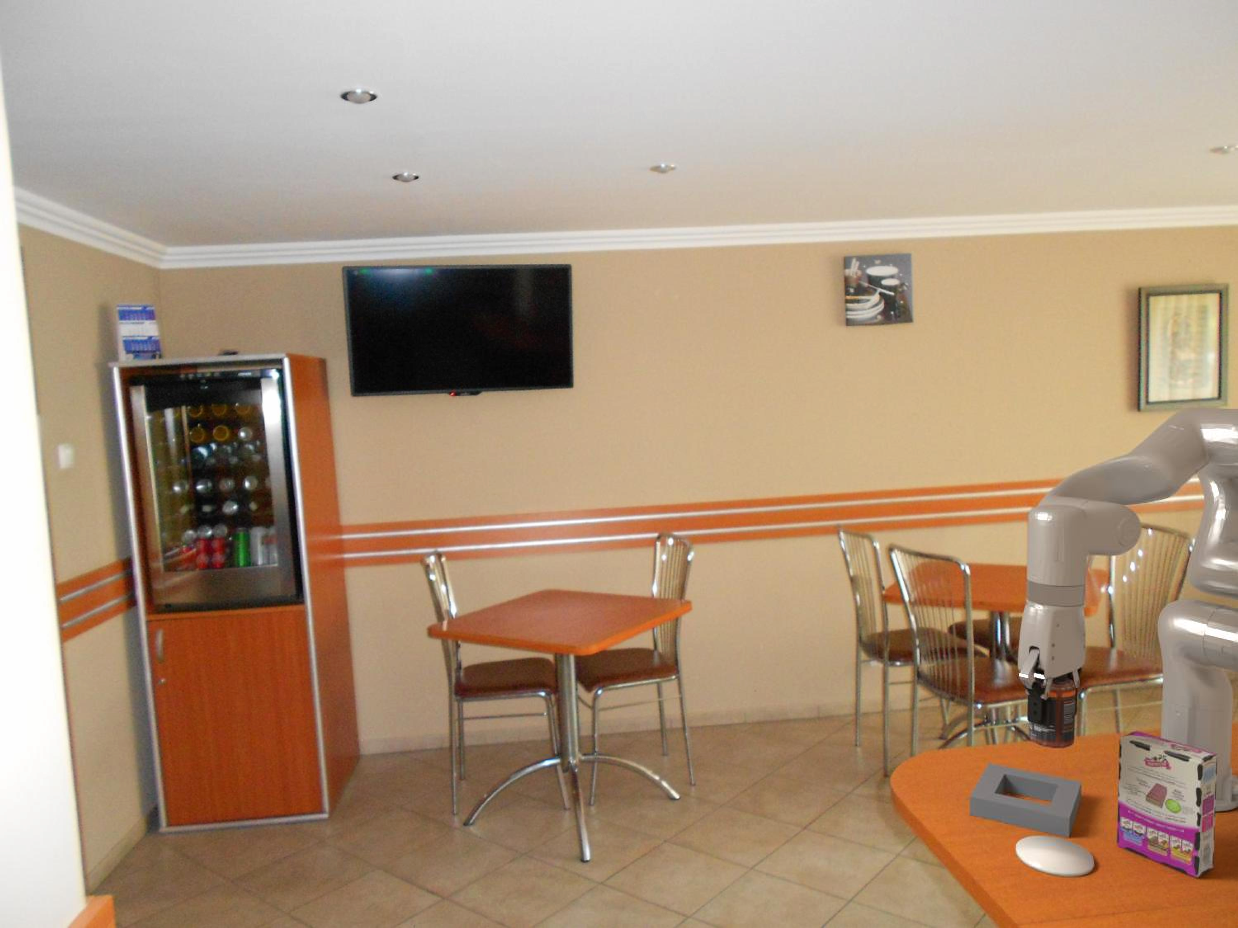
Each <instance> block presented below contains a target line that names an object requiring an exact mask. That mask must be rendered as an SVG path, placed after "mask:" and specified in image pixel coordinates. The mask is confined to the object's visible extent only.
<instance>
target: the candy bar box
mask: <svg viewBox="0 0 1238 928" xmlns="http://www.w3.org/2000/svg"><path fill="white" fill-rule="evenodd" d="M1118 744H1119V745H1118V746H1119V748H1118V749H1119V750H1118V785H1117V786H1118V787H1117V788H1118V789H1117V790H1118V791H1117V819H1116V820H1117V822H1116V825H1117V828H1116V846H1117V847H1118V848H1121V849H1123V850H1127V851H1129V852H1131V853H1134V854H1136V855H1139V856H1140V857H1144V858H1146V859H1147V860H1150V861H1153V862H1156V863H1159V864H1161V865H1164V866H1166V867H1168V868H1171V869H1174V870H1176V871H1179V872H1181V873H1184V874H1186V875H1189V876H1191V877H1194V878H1197V879H1198V878H1200V877H1201V876H1203V875H1204V874H1207V872H1209V871H1211V870H1212V869H1213V868H1214V863H1215V860H1214V859H1215V835H1216V834H1215V831H1216V829H1215V828H1216V811H1215V805H1216V778H1217V754H1215V753H1211V752H1208V751H1204V750H1201V749H1198V748H1194V747H1191V746H1188V745H1184V744H1181V743H1177V742H1174V741H1170V740H1167V739H1163V738H1161V736H1160V737H1159V736H1156V735H1153V734H1150V733H1149V734H1148V733H1145V732H1142V731H1138V730H1135V731H1132V732H1130V733H1128V734H1126V735H1123V736H1121V737H1119V743H1118Z"/></svg>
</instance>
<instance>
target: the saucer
mask: <svg viewBox="0 0 1238 928" xmlns="http://www.w3.org/2000/svg"><path fill="white" fill-rule="evenodd" d="M1015 854H1016V857H1017V858H1018V860H1020V861H1021V862H1022V863H1023V864H1025V865H1026V866H1027V867H1030V868H1031V869H1034V870H1036V871H1037V872H1041V873H1044V874H1047V875H1052V876H1056V877H1063V878H1065V877H1067V878H1068V877H1069V878H1074V877H1081V876H1085V875H1088V874H1089V873H1091V872H1092V871H1093V870H1094V867H1095V860H1094V856H1093V855H1092V853H1090V851H1088V849H1086V848H1085V847H1083V846H1081V845H1079V844H1078V843H1076V842H1073V841H1071V840H1067V839H1065V838H1061V837H1057V836H1050V835H1031V836H1030V835H1029V836H1026V837H1023V838H1021V839H1019V840H1018V841H1017V842H1016V845H1015Z"/></svg>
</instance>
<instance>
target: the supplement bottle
mask: <svg viewBox="0 0 1238 928" xmlns="http://www.w3.org/2000/svg"><path fill="white" fill-rule="evenodd" d="M1037 674H1041V675H1043V674H1044V671H1042V670H1038V671H1037ZM1068 674H1069V673H1066V674H1064V675H1061V676H1059V677H1056V678H1053V680H1052V685H1051V689H1050V693H1049V697H1048V698H1050V699H1052V708H1051V726H1049V727H1044V726H1041V725H1038V724H1035V723H1032V722H1029V721H1028V737H1029V740H1030V741H1031V742H1033V743H1034V744H1036V745H1039V746H1042V747H1044V748H1049V749H1050V748H1051V749H1066V748H1069V747H1072V746H1073V745H1074V744H1075V733H1076V730H1075V727H1076V724H1075V723H1076V715H1075V688H1076V687H1075V684H1074V682H1073V681H1072V680H1071V679H1069V678H1068ZM1036 682H1039V684H1040V685H1041V687H1043V683H1044V680H1042V679H1038V678H1037V680H1036Z"/></svg>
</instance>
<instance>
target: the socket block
mask: <svg viewBox="0 0 1238 928" xmlns="http://www.w3.org/2000/svg"><path fill="white" fill-rule="evenodd" d="M1005 792H1006V793H1011V794H1016V795H1020V796H1025V797H1028V798H1034V799H1038V800H1042V801H1046V802H1051V803H1050V804H1046V803H1042V802H1038V801H1037V802H1036V801H1033V800H1028V799H1024V798H1018V797H1014V796H1010V795H1006V794H1004V793H1005ZM1081 801H1082V781H1079V780H1075V779H1069V778H1064V777H1060V776H1056V775H1050V774H1045V773H1041V772H1040V773H1039V772H1035V771H1029V770H1026V769H1020V768H1015V767H1011V766H1004V765H1000V764H995V763H988V764H987V766H986V768H985V769H984V771H983V773H982V775H981V777H980V778H979V780H978V782H977V783H976V785H975V787H974V789H973V790H972V792H971V794H970V796H969V815H970V816H974V817H978V818H983V819H986V820H991V821H995V822H999V823H1004V824H1007V825H1013V826H1017V827H1020V828H1025V829H1029V830H1034V831H1039V832H1043V833H1045V834H1046V833H1047V834H1049V835H1050V834H1052V835H1055V836H1060V837H1064V838H1070V835H1071V833H1072V829H1073V826H1074V823H1075V820H1076V817H1077V813H1078V811H1079V808H1080V805H1081Z"/></svg>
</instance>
